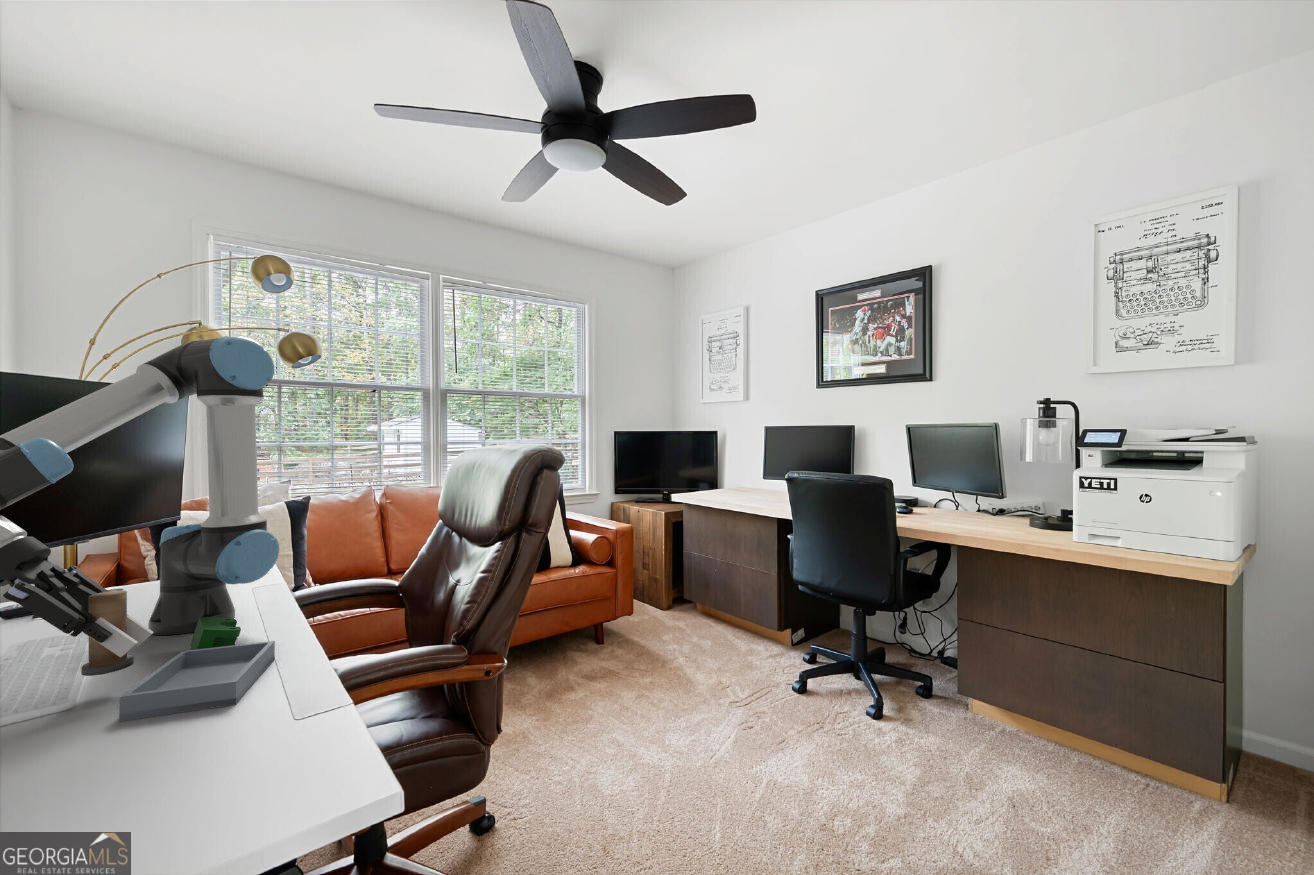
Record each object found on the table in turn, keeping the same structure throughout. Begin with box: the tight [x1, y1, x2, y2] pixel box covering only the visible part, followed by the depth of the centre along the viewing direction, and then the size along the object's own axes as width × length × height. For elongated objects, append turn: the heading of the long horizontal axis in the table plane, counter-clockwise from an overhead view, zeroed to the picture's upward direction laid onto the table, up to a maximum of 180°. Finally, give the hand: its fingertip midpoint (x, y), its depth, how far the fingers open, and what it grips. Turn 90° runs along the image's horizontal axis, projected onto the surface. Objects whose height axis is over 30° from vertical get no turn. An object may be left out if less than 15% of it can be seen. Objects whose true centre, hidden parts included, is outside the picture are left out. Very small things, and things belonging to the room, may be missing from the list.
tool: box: [80, 589, 135, 677], centre depth 89 cm, size 6×6×12 cm
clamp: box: [190, 617, 242, 650], centre depth 108 cm, size 12×6×9 cm, turn 37°
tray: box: [118, 640, 276, 722], centre depth 91 cm, size 20×14×4 cm
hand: (137, 644), depth 90 cm, fingers closed on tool, 4 cm apart
